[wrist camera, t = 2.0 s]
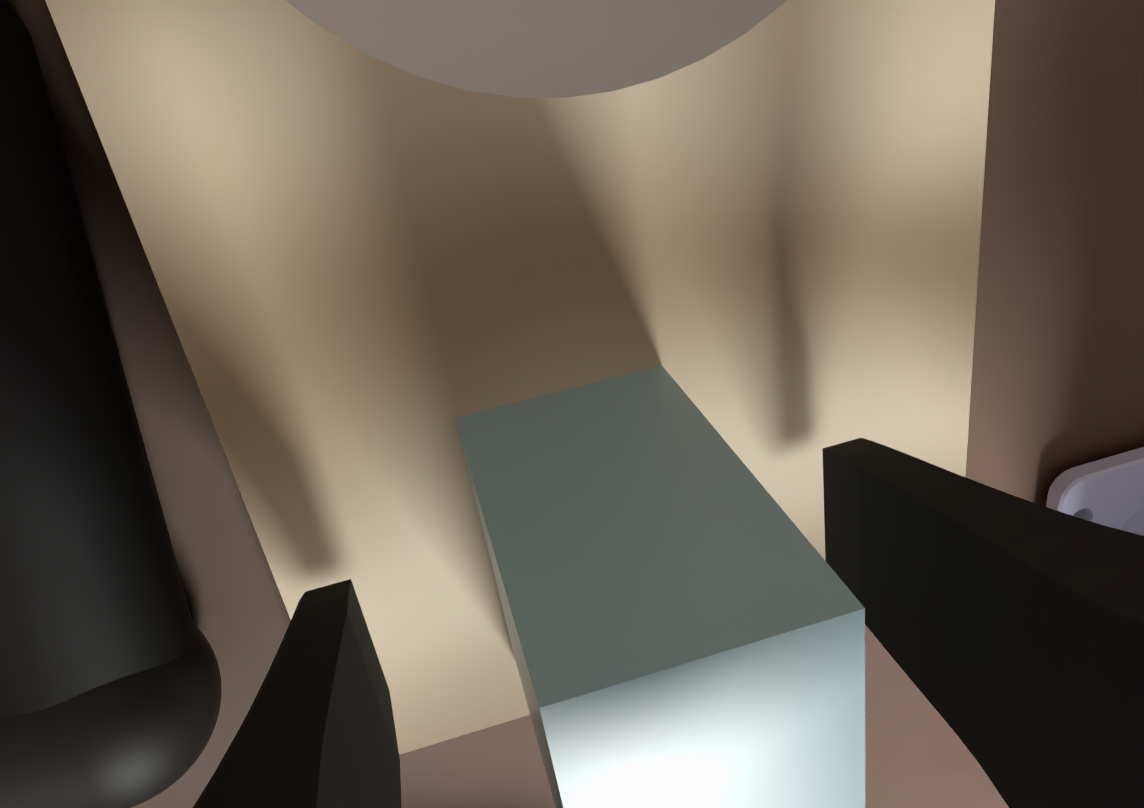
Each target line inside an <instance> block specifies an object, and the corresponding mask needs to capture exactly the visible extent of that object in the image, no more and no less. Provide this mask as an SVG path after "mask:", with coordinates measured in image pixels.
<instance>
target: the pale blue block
mask: <svg viewBox="0 0 1144 808" xmlns="http://www.w3.org/2000/svg"><path fill="white" fill-rule="evenodd" d="M455 420H456V424H457V428H458V432H459V436H460V440H461V444H462V448H463V452H464V456H465V460H466V464H467V468H468V472H469V476H470V480H471V484H472V488H473V492H474V496H475V500H476V504H477V508H478V512H479V516H480V521H481V525H482V529H483V533H484V537H485V541H486V545H487V549H488V553H489V557H490V561H491V565H492V569H493V573H494V577H495V581H496V585H497V589H498V593H499V597H500V601H501V605H502V609H503V613H504V617H505V621H506V625H507V629H508V633H509V637H510V641H511V645H512V649H513V653H514V657H515V661H516V665H517V668H518V672H519V676H520V679H521V683H522V686H523V690H524V694H525V697H526V701H527V705H528V708H529V712H530V715H531V719H532V723H533V726H534V730H535V734H536V737H537V741H538V744H539V748H540V752H541V755H542V759H543V762H544V766H545V770H546V773H547V777H548V781H549V784H550V788H551V791H552V795H553V799H554V802H555V806H556V808H865V608H864V607H863V605H862V604H861V603H860V602H859V601H858V599H857V598H856V597H855V596H854V595H853V593H852V592H851V591H850V590H849V589H848V587H847V586H846V585H845V584H844V583H843V581H842V580H841V579H840V578H839V577H838V575H837V574H836V573H835V572H834V571H833V569H832V568H831V567H830V566H829V565H828V563H827V562H826V561H825V560H824V559H823V557H822V556H821V555H820V554H819V553H818V551H817V550H816V549H815V548H814V547H813V545H812V544H811V543H810V542H809V541H808V540H807V538H806V537H805V536H804V535H803V534H802V532H801V531H800V530H799V529H798V528H797V526H796V525H795V524H794V523H793V522H792V520H791V519H790V518H789V517H788V516H787V514H786V513H785V512H784V511H783V510H782V508H781V507H780V506H779V505H778V504H777V502H776V501H775V500H774V499H773V498H772V496H771V495H770V494H769V493H768V492H767V490H766V489H765V488H764V487H763V486H762V484H761V483H760V482H759V481H758V480H757V478H756V477H755V476H754V475H753V474H752V473H751V471H750V470H749V469H748V468H747V467H746V465H745V464H744V463H743V462H742V461H741V459H740V458H739V457H738V456H737V455H736V453H735V452H734V451H733V450H732V449H731V447H730V446H729V445H728V444H727V443H726V441H725V440H724V439H723V438H722V437H721V435H720V434H719V433H718V432H717V431H716V429H715V428H714V427H713V426H712V425H711V423H710V422H709V421H708V420H707V419H706V417H705V416H704V415H703V414H702V413H701V411H700V410H699V409H698V408H697V407H696V405H695V404H694V403H693V402H692V401H691V400H690V398H689V397H688V396H687V395H686V394H685V392H684V391H683V390H682V389H681V388H680V386H679V385H678V384H677V383H676V382H675V380H674V379H673V378H672V377H671V376H670V374H669V373H668V372H667V371H666V370H665V368H664V367H663V366H662V365H661V366H657V367H653V368H649V369H645V370H641V371H637V372H634V373H630V374H626V375H622V376H618V377H614V378H610V379H606V380H602V381H598V382H594V383H590V384H587V385H583V386H579V387H575V388H571V389H567V390H563V391H559V392H555V393H551V394H547V395H543V396H540V397H536V398H532V399H528V400H524V401H520V402H516V403H512V404H508V405H504V406H500V407H496V408H493V409H489V410H485V411H481V412H477V413H473V414H469V415H465V416H461V417H457V418H455Z"/></svg>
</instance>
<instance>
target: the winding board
mask: <svg viewBox="0 0 1144 808" xmlns="http://www.w3.org/2000/svg"><path fill="white" fill-rule="evenodd" d="M45 1H46V4H47V6H48V9H49V11H50V14H51V16H52V19H53V21H54V24H55V26H56V29H57V31H58V34H59V36H60V39H61V41H62V44H63V46H64V49H65V51H66V54H67V57H68V59H69V62H70V64H71V67H72V69H73V72H74V74H75V77H76V79H77V82H78V84H79V87H80V89H81V92H82V94H83V97H84V99H85V102H86V104H87V107H88V110H89V112H90V115H91V117H92V120H93V122H94V125H95V127H96V130H97V132H98V135H99V137H100V140H101V142H102V145H103V147H104V150H105V152H106V155H107V157H108V160H109V162H110V165H111V168H112V170H113V173H114V175H115V178H116V180H117V183H118V185H119V188H120V190H121V193H122V195H123V198H124V200H125V203H126V205H127V208H128V210H129V213H130V215H131V218H132V221H133V223H134V226H135V228H136V231H137V233H138V236H139V238H140V241H141V243H142V246H143V248H144V251H145V253H146V256H147V258H148V261H149V263H150V266H151V268H152V271H153V274H154V276H155V279H156V281H157V284H158V286H159V289H160V291H161V294H162V296H163V299H164V301H165V304H166V306H167V309H168V311H169V314H170V316H171V319H172V321H173V324H174V326H175V329H176V332H177V334H178V337H179V339H180V342H181V344H182V347H183V349H184V352H185V354H186V357H187V359H188V362H189V364H190V367H191V369H192V372H193V374H194V377H195V379H196V382H197V385H198V387H199V390H200V392H201V395H202V397H203V400H204V402H205V405H206V407H207V410H208V412H209V415H210V417H211V420H212V422H213V425H214V427H215V430H216V432H217V435H218V438H219V440H220V443H221V445H222V448H223V450H224V453H225V455H226V458H227V460H228V463H229V465H230V468H231V470H232V473H233V475H234V478H235V480H236V483H237V485H238V488H239V491H240V493H241V496H242V498H243V501H244V503H245V506H246V508H247V511H248V513H249V516H250V518H251V521H252V523H253V526H254V528H255V531H256V533H257V536H258V538H259V541H260V543H261V546H262V549H263V551H264V554H265V556H266V559H267V561H268V564H269V566H270V569H271V571H272V574H273V576H274V579H275V581H276V584H277V586H278V589H279V591H280V594H281V596H282V599H283V602H284V604H285V607H286V609H287V612H288V614H289V617H290V619H292V617H293V614H294V612H295V610H296V607H297V605H298V602H299V600H300V599H301V597H302V596H303V594H304V593H305V592H306V591H309V590H313V589H317V588H320V587H324V586H327V585H331V584H335V583H338V582H342V581H346V580H349V579H351V581H352V584H353V587H354V589H355V592H356V595H357V598H358V601H359V604H360V607H361V610H362V613H363V616H364V618H365V621H366V624H367V627H368V630H369V633H370V636H371V639H372V642H373V645H374V647H375V650H376V653H377V656H378V659H379V662H380V665H381V668H382V671H383V673H384V676H385V679H386V682H387V685H388V688H389V691H390V697H391V704H392V710H393V717H394V723H395V730H396V737H397V744H398V751H399V755H400V754H403V753H406V752H410V751H413V750H416V749H419V748H423V747H426V746H429V745H432V744H436V743H439V742H442V741H445V740H449V739H452V738H455V737H458V736H462V735H465V734H468V733H471V732H475V731H478V730H481V729H484V728H488V727H491V726H494V725H497V724H501V723H504V722H507V721H510V720H514V719H517V718H520V717H523V716H527V715H530V712H529V708H528V705H527V701H526V697H525V694H524V690H523V686H522V683H521V679H520V676H519V672H518V668H517V665H516V661H515V657H514V653H513V649H512V645H511V641H510V637H509V633H508V629H507V625H506V621H505V617H504V613H503V609H502V605H501V601H500V597H499V593H498V589H497V585H496V581H495V577H494V573H493V569H492V565H491V561H490V557H489V553H488V549H487V545H486V541H485V537H484V533H483V529H482V525H481V521H480V516H479V512H478V508H477V504H476V500H475V496H474V492H473V488H472V484H471V480H470V476H469V472H468V468H467V464H466V460H465V456H464V452H463V448H462V444H461V440H460V436H459V432H458V428H457V424H456V420H455V418H457V417H461V416H465V415H469V414H473V413H477V412H481V411H485V410H489V409H493V408H496V407H500V406H504V405H508V404H512V403H516V402H520V401H524V400H528V399H532V398H536V397H540V396H543V395H547V394H551V393H555V392H559V391H563V390H567V389H571V388H575V387H579V386H583V385H587V384H590V383H594V382H598V381H602V380H606V379H610V378H614V377H618V376H622V375H626V374H630V373H634V372H637V371H641V370H645V369H649V368H653V367H657V366H661V365H662V366H663V367H664V368H665V370H666V371H667V372H668V373H669V374H670V376H671V377H672V378H673V379H674V380H675V382H676V383H677V384H678V385H679V386H680V388H681V389H682V390H683V391H684V392H685V394H686V395H687V396H688V397H689V398H690V400H691V401H692V402H693V403H694V404H695V405H696V407H697V408H698V409H699V410H700V411H701V413H702V414H703V415H704V416H705V417H706V419H707V420H708V421H709V422H710V423H711V425H712V426H713V427H714V428H715V429H716V431H717V432H718V433H719V434H720V435H721V437H722V438H723V439H724V440H725V441H726V443H727V444H728V445H729V446H730V447H731V449H732V450H733V451H734V452H735V453H736V455H737V456H738V457H739V458H740V459H741V461H742V462H743V463H744V464H745V465H746V467H747V468H748V469H749V470H750V471H751V473H752V474H753V475H754V476H755V477H756V478H757V480H758V481H759V482H760V483H761V484H762V486H763V487H764V488H765V489H766V490H767V492H768V493H769V494H770V495H771V496H772V498H773V499H774V500H775V501H776V502H777V504H778V505H779V506H780V507H781V508H782V510H783V511H784V512H785V513H786V514H787V516H788V517H789V518H790V519H791V520H792V522H793V523H794V524H795V525H796V526H797V528H798V529H799V530H800V531H801V532H802V534H803V535H804V536H805V537H806V538H807V540H808V541H809V542H810V543H811V544H812V545H813V547H814V548H815V549H816V550H817V551H818V553H819V554H820V555H821V556H822V557H823V559H824V560H825V524H824V486H823V449H822V448H826V447H829V446H833V445H837V444H840V443H844V442H847V441H851V440H855V439H858V438H864V439H867V440H870V441H874V442H876V443H879V444H882V445H885V446H887V447H890V448H893V449H895V450H898V451H900V452H903V453H905V454H908V455H911V456H913V457H916V458H918V459H921V460H923V461H926V462H928V463H931V464H933V465H935V466H938V467H940V468H943V469H945V470H948V471H950V472H953V473H955V474H958V475H961V476H963V477H965V475H966V459H967V443H968V427H969V411H970V395H971V379H972V363H973V346H974V330H975V314H976V298H977V282H978V266H979V250H980V234H981V218H982V202H983V186H984V170H985V154H986V138H987V122H988V106H989V90H990V74H991V58H992V41H993V25H994V9H995V0H45Z"/></svg>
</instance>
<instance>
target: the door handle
mask: <svg viewBox="0 0 1144 808" xmlns="http://www.w3.org/2000/svg"><path fill="white" fill-rule="evenodd" d="M220 703H221V677H220V671H219V667H218V663H217V660H216V657H215V654H214V652H213V650H212V648H211V646H210V644H209V642H208V641H207V639H206V638H205V636H204V635H203V633H202V632H201V631H200V630H199V629H198V628H197V626H196V625H195V624H194V623H193V621H192V617H191V614H190V610H189V607H188V603H187V599H186V596H185V592H184V588H183V585H182V581H181V578H180V574H179V570H178V567H177V563H176V559H175V556H174V552H173V548H172V545H171V541H170V538H169V534H168V530H167V527H166V523H165V519H164V516H163V512H162V508H161V505H160V501H159V498H158V494H157V490H156V487H155V483H154V479H153V476H152V472H151V469H150V465H149V461H148V458H147V454H146V450H145V447H144V443H143V439H142V436H141V432H140V429H139V425H138V421H137V418H136V414H135V410H134V407H133V403H132V400H131V396H130V392H129V389H128V385H127V381H126V378H125V374H124V370H123V367H122V363H121V360H120V356H119V352H118V349H117V345H116V341H115V338H114V334H113V330H112V327H111V323H110V320H109V316H108V312H107V309H106V305H105V301H104V298H103V294H102V291H101V287H100V283H99V280H98V276H97V272H96V269H95V265H94V261H93V258H92V254H91V251H90V247H89V243H88V240H87V236H86V232H85V229H84V225H83V221H82V218H81V214H80V211H79V207H78V203H77V200H76V196H75V192H74V189H73V185H72V182H71V178H70V174H69V171H68V167H67V163H66V160H65V156H64V152H63V149H62V145H61V142H60V138H59V134H58V131H57V127H56V123H55V120H54V116H53V113H52V109H51V105H50V102H49V98H48V94H47V91H46V87H45V83H44V80H43V76H42V73H41V69H40V65H39V62H38V58H37V54H36V51H35V47H34V44H33V41H32V38H31V36H30V33H29V31H28V29H27V27H26V26H25V24H24V22H23V21H22V19H21V18H20V16H19V15H18V14H17V12H16V11H15V10H14V9H13V8H12V6H11V5H10V4H9V3H8V2H7V1H6V0H0V808H130V807H133V806H136V805H138V804H140V803H143V802H145V801H147V800H149V799H151V798H153V797H154V796H156V795H158V794H159V793H161V792H163V791H164V790H166V789H167V788H168V787H170V786H171V785H172V784H173V783H175V782H176V781H177V780H178V779H179V778H180V777H181V776H183V775H184V774H185V773H186V771H187V770H188V769H189V768H190V767H191V766H192V765H193V764H194V762H195V761H196V760H197V758H198V757H199V756H200V754H201V753H202V751H203V750H204V748H205V746H206V744H207V743H208V741H209V739H210V737H211V734H212V732H213V730H214V727H215V724H216V721H217V718H218V714H219V709H220Z"/></svg>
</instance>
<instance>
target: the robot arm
mask: <svg viewBox="0 0 1144 808" xmlns="http://www.w3.org/2000/svg"><path fill="white" fill-rule="evenodd" d="M822 449H823V486H824V524H825V561H826V562H827V563H828V565H829V566H830V567H831V568H832V569H833V571H834V572H835V573H836V574H837V575H838V577H839V578H840V579H841V580H842V581H843V583H844V584H845V585H846V586H847V587H848V589H849V590H850V591H851V592H852V593H853V595H854V596H855V597H856V598H857V599H858V601H859V602H860V603H861V604H862V605H863V607H864V608H865V624H866V625H867V627H868V628H869V629H870V630H871V632H872V633H873V634H874V635H875V637H876V638H877V639H878V640H879V641H880V643H881V644H882V645H883V646H884V648H885V649H886V650H887V651H888V652H889V654H890V655H891V656H892V657H893V659H894V660H895V661H896V662H897V663H898V665H899V666H900V667H901V668H902V669H903V671H904V672H905V673H906V674H907V675H908V676H909V678H910V679H911V680H912V681H913V682H914V684H915V685H916V686H917V687H918V688H919V690H920V691H921V692H922V693H923V694H924V696H925V697H926V698H927V699H928V700H929V702H930V703H931V704H932V705H933V706H934V708H935V709H936V710H937V711H938V712H939V714H940V715H941V716H942V717H943V718H944V720H945V721H946V722H947V723H948V724H949V726H950V727H951V728H952V729H953V730H954V732H955V733H956V734H957V735H958V736H959V738H960V739H961V740H962V742H963V743H964V744H965V745H966V747H967V748H968V749H969V751H970V752H971V753H972V755H973V756H974V757H975V759H976V760H977V761H978V762H979V764H980V765H981V767H982V768H983V769H984V771H985V772H986V774H987V775H988V777H989V778H990V780H991V781H992V783H993V784H994V786H995V787H996V789H997V790H998V792H999V793H1000V795H1001V796H1002V798H1003V799H1004V801H1005V802H1006V804H1007V805H1008V807H1009V808H1144V447H1141V448H1138V449H1134V450H1131V451H1127V452H1124V453H1121V454H1117V455H1114V456H1110V457H1107V458H1103V459H1100V460H1097V461H1093V462H1090V463H1086V464H1083V465H1080V466H1076V467H1073V468H1071V469H1068V470H1066V471H1064V472H1062V473H1061V474H1060V475H1059V476H1058V477H1057V478H1055V480H1054V481H1053V483H1052V484H1051V486H1050V489H1049V492H1048V495H1047V503H1046V507H1045V506H1042V505H1039V504H1036V503H1032V502H1030V501H1027V500H1024V499H1021V498H1019V497H1016V496H1013V495H1010V494H1007V493H1005V492H1002V491H999V490H997V489H994V488H991V487H989V486H986V485H984V484H981V483H978V482H976V481H973V480H971V479H968V478H966V477H963V476H961V475H958V474H955V473H953V472H950V471H948V470H945V469H943V468H940V467H938V466H935V465H933V464H931V463H928V462H926V461H923V460H921V459H918V458H916V457H913V456H911V455H908V454H905V453H903V452H900V451H898V450H895V449H893V448H890V447H887V446H885V445H882V444H879V443H876V442H874V441H870V440H867V439H864V438H858V439H855V440H851V441H847V442H844V443H840V444H837V445H833V446H829V447H826V448H822ZM193 808H401V782H400V758H399V751H398V744H397V737H396V730H395V723H394V717H393V710H392V704H391V697H390V691H389V688H388V685H387V682H386V679H385V676H384V673H383V671H382V668H381V665H380V662H379V659H378V656H377V653H376V650H375V647H374V645H373V642H372V639H371V636H370V633H369V630H368V627H367V624H366V621H365V618H364V616H363V613H362V610H361V607H360V604H359V601H358V598H357V595H356V592H355V589H354V587H353V584H352V581H351V579H349V580H346V581H342V582H338V583H335V584H331V585H327V586H324V587H320V588H317V589H313V590H309V591H306V592H305V593H304V594H303V596H302V597H301V599H300V600H299V602H298V605H297V607H296V610H295V612H294V614H293V617H292V619H291V622H290V624H289V626H288V629H287V631H286V634H285V636H284V638H283V640H282V643H281V645H280V647H279V649H278V652H277V654H276V656H275V658H274V661H273V663H272V665H271V667H270V669H269V671H268V673H267V675H266V677H265V679H264V682H263V684H262V686H261V688H260V690H259V692H258V694H257V696H256V698H255V700H254V702H253V704H252V706H251V708H250V710H249V712H248V714H247V716H246V718H245V720H244V721H243V723H242V725H241V727H240V729H239V730H238V732H237V734H236V736H235V738H234V739H233V741H232V743H231V745H230V746H229V748H228V750H227V752H226V753H225V755H224V757H223V759H222V761H221V762H220V764H219V766H218V768H217V769H216V771H215V773H214V775H213V776H212V778H211V780H210V781H209V783H208V784H207V786H206V788H205V789H204V791H203V792H202V794H201V796H200V797H199V799H198V800H197V802H196V804H195V805H194V807H193Z"/></svg>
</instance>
